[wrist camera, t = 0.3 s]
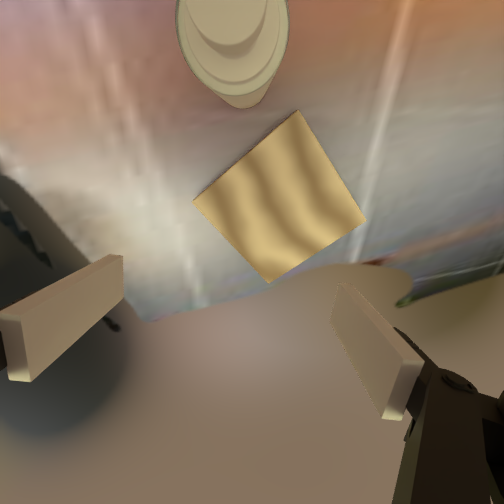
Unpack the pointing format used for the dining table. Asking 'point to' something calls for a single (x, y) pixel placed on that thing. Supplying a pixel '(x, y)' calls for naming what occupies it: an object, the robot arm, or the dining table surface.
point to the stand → (281, 201)
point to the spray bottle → (234, 45)
